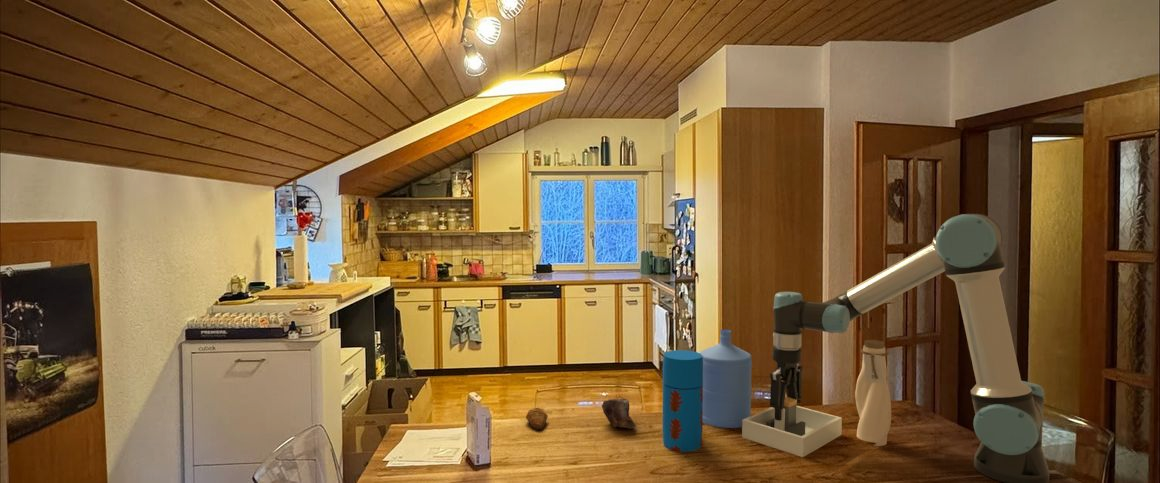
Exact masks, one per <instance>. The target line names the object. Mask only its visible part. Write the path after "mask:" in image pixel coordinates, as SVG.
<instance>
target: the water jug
mask: <svg viewBox="0 0 1160 483" xmlns="http://www.w3.org/2000/svg"><path fill="white" fill-rule="evenodd" d="M719 332H720V335H719V338H720V339H719V340H720V342H719V343H718V344H715V345H713V346H709V347H708V348H705V349H702V350H701V351H700V352H699V353H700V354H701V355H702V357H703V420H702V425H709V426H711V427H717V428H723V429H724V428H725V429H726V428H727V429H735V428H736V429H737V428H742V420H743V419H745V418H748V417H750V416H752V414H751V413H752V412H751V409H752V405H751V404H752V370H753V361H752V355H751V353H749V352H748V351H745V350H744V349H741V348H740V347H737V346H736V345H734V344H732V342H731V339H732V336H731V333H732V330H730V329H720V330H719Z"/></svg>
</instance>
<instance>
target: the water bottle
mask: <svg viewBox="0 0 1160 483" xmlns="http://www.w3.org/2000/svg"><path fill="white" fill-rule="evenodd" d="M860 353H861V354H862V360H861V361H862V364H861V370H860V373H859V375H858V377H857V379H856V385H855V392H854V398H855V404H856V405H855V406H856V409H857V410H856V411H857V414H858V416H859V421H858V423H857V430H856V437H857V438H858V439H859V440H861V441H864V442H866V443H867V442H868V443H874V444H873V445H872V447H883V446H886V445H887V444H888V435H889V432H890V428H891V422H892V404H891V392H890V388H889V385H888V381H887V377H888V376H887V375H888V374H887V373H888V372H887V371H888V369H887V362H886V357H887V356H889V351H888V350H886V346H885V342H884V341H881V340H877V339H866V340H864V344H863V347H862V348H861V349H860Z"/></svg>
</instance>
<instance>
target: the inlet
mask: <svg viewBox="0 0 1160 483" xmlns="http://www.w3.org/2000/svg"><path fill="white" fill-rule="evenodd" d="M774 424H775V418H773V419H771V420H769V421H766V426H769V427H773V428H774ZM787 432H789V433H793V434H796V435H799V436H803V435H805V422H803V421H801V422H799V423H797V424H795V425H793V426H791V427H789V428H787Z"/></svg>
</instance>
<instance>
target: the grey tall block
mask: <svg viewBox="0 0 1160 483" xmlns="http://www.w3.org/2000/svg"><path fill="white" fill-rule="evenodd" d="M796 404H797V405H798V403H797V400H796V399H792V398H788V396H785V400H784V406H783V408H784V409H785V431H786V432H787V428H789V427H791V426H793V425H795V424H796Z"/></svg>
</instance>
